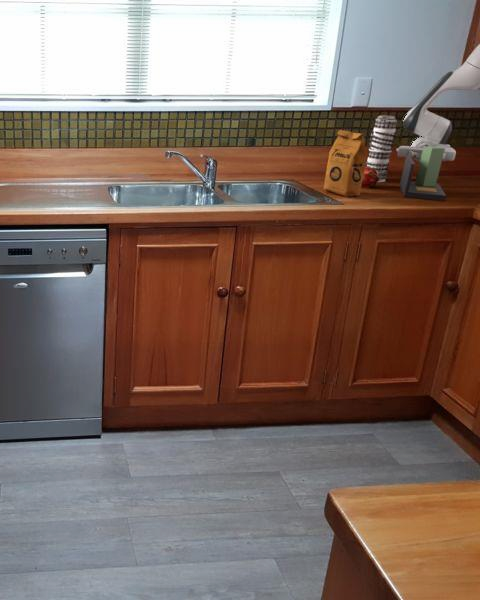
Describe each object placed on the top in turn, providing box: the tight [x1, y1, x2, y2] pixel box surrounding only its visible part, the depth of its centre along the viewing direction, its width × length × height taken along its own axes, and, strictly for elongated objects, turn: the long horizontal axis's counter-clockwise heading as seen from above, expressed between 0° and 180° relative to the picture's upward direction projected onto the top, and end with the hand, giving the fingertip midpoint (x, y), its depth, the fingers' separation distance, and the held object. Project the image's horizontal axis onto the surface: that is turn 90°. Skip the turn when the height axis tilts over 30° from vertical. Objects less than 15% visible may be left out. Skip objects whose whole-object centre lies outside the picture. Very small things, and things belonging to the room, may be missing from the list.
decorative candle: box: [365, 114, 398, 183], centre depth 242 cm, size 9×9×25 cm
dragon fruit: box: [361, 165, 380, 189], centre depth 234 cm, size 8×8×12 cm
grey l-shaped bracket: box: [399, 155, 447, 202], centre depth 223 cm, size 13×22×12 cm, turn 158°
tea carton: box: [414, 146, 445, 186], centre depth 227 cm, size 5×5×14 cm
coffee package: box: [322, 129, 367, 198], centre depth 218 cm, size 10×12×22 cm
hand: (427, 156), depth 235 cm, fingers open, 8 cm apart
